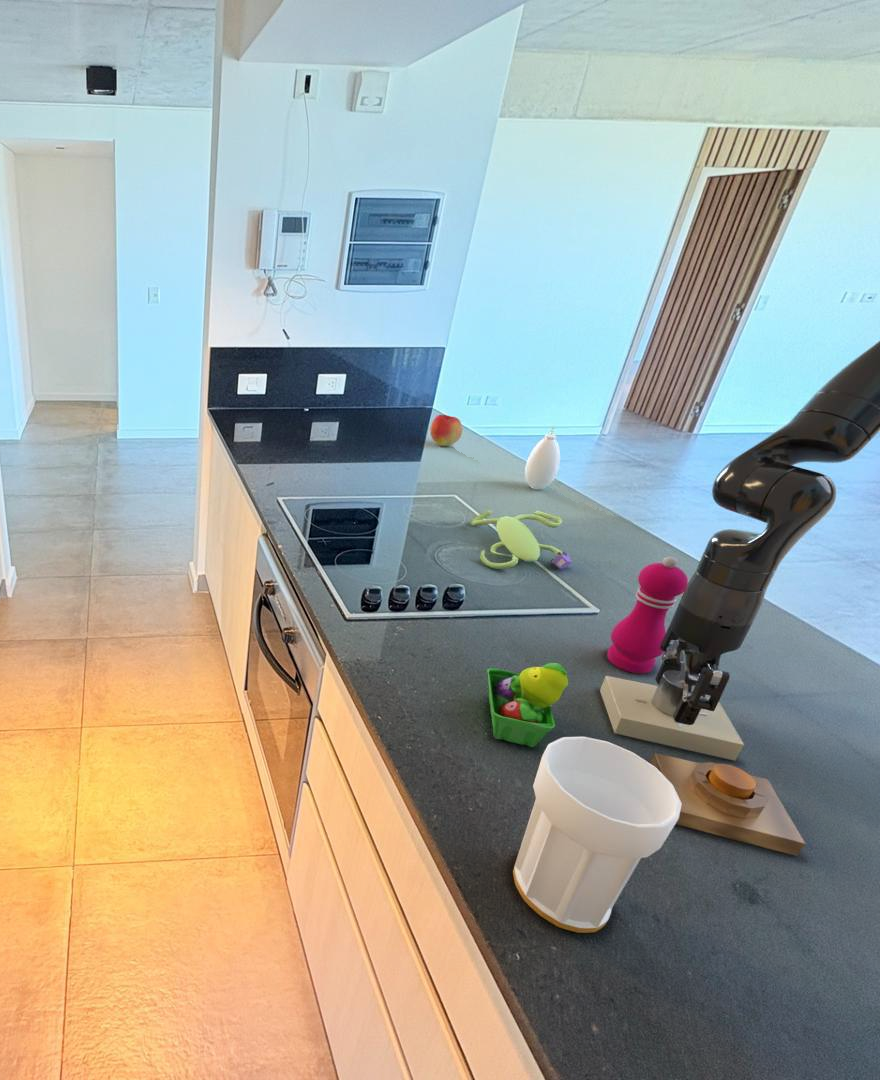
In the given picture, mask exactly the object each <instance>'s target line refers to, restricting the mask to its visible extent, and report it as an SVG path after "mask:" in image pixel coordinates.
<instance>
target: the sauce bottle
mask: <svg viewBox="0 0 880 1080" xmlns="http://www.w3.org/2000/svg"><path fill="white" fill-rule="evenodd" d="M554 428H555V425H553V426H552V427H551V430H550V433H547V434H545V435H544V438H542V439H541V440H540V441H538V442H537V444H536V445H535V446H534V447H533V448H532V450H531V452H530V454H529V455H528V458H527V460H526V463H525V467H524V478H525V482H526V484H527V485H528V486H529V487H530V488H532V489H533V490H536V491H537V490H543V489H544V488H547V487H549V486H550V485H551V484H552V483H553V482H554V481H555V478H556V477H557V475H558V472H559V469H560V464H561V451H560V446H559V442H558V440H557V435H555V434H554V430H555V429H554Z"/></svg>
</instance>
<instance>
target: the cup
mask: <svg viewBox="0 0 880 1080" xmlns="http://www.w3.org/2000/svg"><path fill="white" fill-rule="evenodd" d="M532 788H533V792H534V797H535V800H534V803H533V806H532V810H531V813H530V816H529V819H528V822H527V826H526V828H525V832H524V835H523V838H522V841H521V843H520V848H519V850H518V854H517V857H516V860H515V863H514V867H513V870H512V875H513V880H514V886H515V888H516V889H517V891H518V893H519V895H520V896H521V898H522V899H523V901H524V902H525V903H526V904H527V905H528V906H529V907H530V908H531V909H532V910H533V911H534V912H535V913H536V914H537V915H539V916H540V917H541V918H543V919H544V920H546V921H548V923H551V924H552V925H554V926H556V927H558V928H560V929H563V930H566V931H571V932H574V933H578V934H580V933H581V934H582V933H583V934H587V933H588V934H590V933H597V932H598V931H599V930H601V929H602V928H603V927H605V925H607V923H608V921H609V919H610V917H611V915H612V910H613V907H614V905H615V904H616V902H617V901H618V898H620V895H621V894H622V892H623V890H624V888H625V886H626V885H627V883H628V881H629V880H630V878H631V876H632V875H633V872H634V871H635V869H636V868H637V866H638V864H639V862H640V861H641V859H645V858H646V859H647V858H648V857H650V856H651V855H653V854H654V853H656V852H657V851H659V850H661V848H662V847H663V845H664V843H665V842H666V840H667V839H668V837H669V835H670V834H671V833H672V830H673V829H674V827H675V825H677V824H676V822H677V821H678V819H679V815H680V810H681V806H682V803H681V801H680V799H679V797H678V795H677V793H676V791H675V789H674V786H673V785H672V784H671V783H670V782H669V781H668V780H667V778H666V777H665V776H664V775H663V774H662V773H661V772H660V771H659V770H658V769H657V768H656V767H654V766H653V765H651V764H650V762H648V761H647V760H646V759H644V758H643V757H641V756H639V755H638V754H636V753H634V752H633V751H631V750H628V749H626V748H624V747H621V746H619V745H617V744H615V743H612V742H609V741H606V740H601V739H598V738H592V737H587V736H563V737H560V738H557V739H556V740H554V741H552V742H550V743H548V744H547V746H546V748H545V749H544V752H543V753H542V755H541V758H540V763H539V765H538V769H537V772H536V775H535V778H534V782H533V785H532Z"/></svg>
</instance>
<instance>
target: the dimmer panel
mask: <svg viewBox="0 0 880 1080" xmlns="http://www.w3.org/2000/svg"><path fill="white" fill-rule="evenodd" d="M657 687H658V685H655V684H649V683H646V682H645V683H644V682H639V681H634V680H631V679H624V678H620V677H614V676H610V675H605V676H604V679H603V682H602V684H601V687H600V690H599V692H600V695H601V698H602V701H603V704H604V707H605V709H606V713H607V715H608V718H609V721H610V724H611V727H612V730H613V733H614V734H616V735H619V736H624V737H628V738H632V739H633V738H634V739H637V740H641V741H647V742H650V743H654V744H659V745H664V746H668V747H672V748H677V749H681V750H686V751H690V752H694V753H698V754H699V753H700V754H704V755H708V756H713V757H717V758H722V759H725V760H729V761H734V762H736V761H737V759H738V757H739V755H740V753H741V751H742V750H743V748H744V746H745V744H744V742H743V740H742V738H741V736H740V735H739V733H738V732H737V730H736V728H735V726H734V724H733V723H732V721H731V720H730V718H729V716H728V715H727V713H726V711H725V709H724V708H723V706H722V704H721V702H720V701H719V702H718V704H717V706H716V708H715V710H714V711H709V710H705V709H701V710H700V712H699V714H698V716H697V718H696V720H695V722H694V724H693V725H686V724H682V723H677V722H675V720H674V718H673V716H669V715H667V714H665V713H663V712H661V711H659V710H658V709H656V708H655V707H654V706H653V704H652V698H653V696H654V694H655V692H656V689H657ZM709 698H710V696H709Z"/></svg>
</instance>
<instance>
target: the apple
mask: <svg viewBox="0 0 880 1080" xmlns="http://www.w3.org/2000/svg"><path fill="white" fill-rule="evenodd" d="M429 431H430V433H429V434H430V436H431V438H432V440H433V442H434V443H435V444H436V445H437V446H438V447H439V446H440V447H449V446H452V445H454V444H456V443H457V442H459V440H460V438H461V437H462V435H463V424H462V421H461V420H460V419H459V418H458V417H456V416H451V415H447V414H439V415H436V416H435V418H433V420H432V422H431V425H430V430H429Z"/></svg>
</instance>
